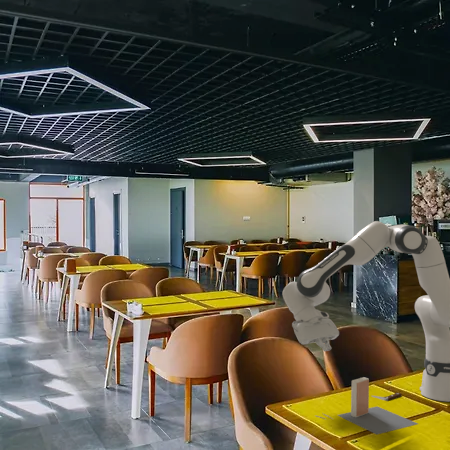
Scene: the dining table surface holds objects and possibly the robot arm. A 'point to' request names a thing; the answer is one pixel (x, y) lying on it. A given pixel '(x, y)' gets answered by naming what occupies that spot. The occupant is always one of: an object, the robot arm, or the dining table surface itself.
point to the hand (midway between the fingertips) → (328, 350)
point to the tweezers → (324, 418)
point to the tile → (360, 397)
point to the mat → (379, 420)
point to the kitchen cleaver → (389, 397)
